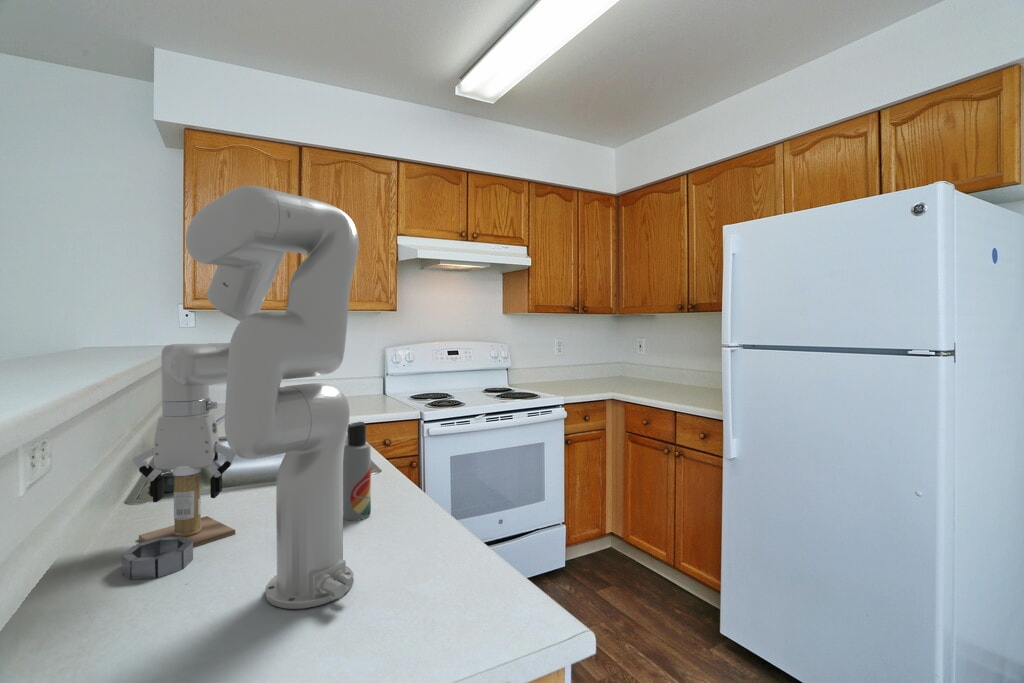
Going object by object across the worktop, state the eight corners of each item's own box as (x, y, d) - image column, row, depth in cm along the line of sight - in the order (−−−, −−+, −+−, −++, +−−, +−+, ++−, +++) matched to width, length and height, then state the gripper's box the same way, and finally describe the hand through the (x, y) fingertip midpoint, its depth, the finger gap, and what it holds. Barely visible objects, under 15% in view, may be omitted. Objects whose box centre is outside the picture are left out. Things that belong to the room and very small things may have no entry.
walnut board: (235, 534, 99) (235, 529, 99) (165, 556, 89) (164, 552, 89) (207, 519, 106) (206, 516, 106) (138, 539, 96) (138, 535, 96)
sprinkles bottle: (207, 528, 99) (206, 460, 99) (189, 538, 95) (189, 466, 94) (185, 527, 100) (184, 459, 99) (167, 537, 95) (166, 465, 95)
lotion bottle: (374, 517, 108) (374, 423, 107) (347, 523, 104) (347, 426, 104) (365, 509, 112) (365, 419, 112) (339, 514, 109) (339, 422, 109)
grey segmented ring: (200, 563, 87) (200, 545, 86) (136, 585, 79) (136, 566, 79) (177, 548, 92) (177, 532, 92) (115, 568, 85) (115, 550, 84)
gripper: (241, 404, 102) (242, 488, 103) (143, 407, 98) (144, 495, 99) (230, 410, 95) (231, 501, 96) (123, 413, 91) (125, 508, 91)
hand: (187, 497), depth 97 cm, fingers open, 9 cm apart
